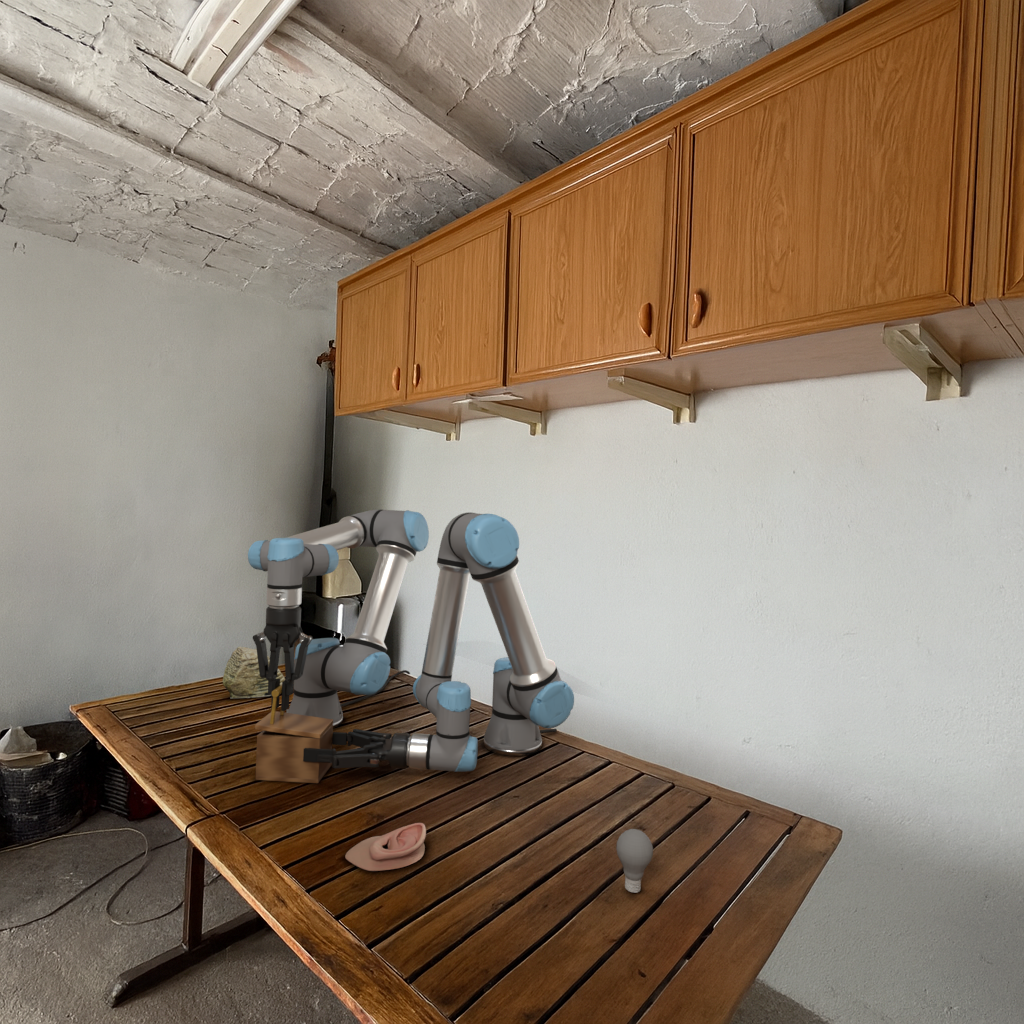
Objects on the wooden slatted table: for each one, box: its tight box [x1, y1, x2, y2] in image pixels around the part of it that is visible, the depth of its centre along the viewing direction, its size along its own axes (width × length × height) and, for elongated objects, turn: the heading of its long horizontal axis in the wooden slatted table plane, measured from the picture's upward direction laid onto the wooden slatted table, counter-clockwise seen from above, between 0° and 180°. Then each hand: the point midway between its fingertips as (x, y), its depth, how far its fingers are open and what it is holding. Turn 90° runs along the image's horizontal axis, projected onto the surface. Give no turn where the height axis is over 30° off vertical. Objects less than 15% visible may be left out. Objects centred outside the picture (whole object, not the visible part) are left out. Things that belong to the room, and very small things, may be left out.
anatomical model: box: [344, 822, 427, 872], centre depth 113 cm, size 13×4×12 cm
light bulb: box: [615, 828, 654, 894], centre depth 106 cm, size 6×6×10 cm
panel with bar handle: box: [254, 684, 333, 738], centre depth 144 cm, size 15×9×9 cm, turn 89°
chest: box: [255, 724, 334, 784], centre depth 145 cm, size 14×9×10 cm
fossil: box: [222, 646, 286, 699], centre depth 198 cm, size 9×18×15 cm, turn 132°
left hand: (280, 708), depth 145 cm, fingers closed on panel with bar handle, 2 cm apart
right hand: (311, 745), depth 145 cm, fingers closed on chest, 9 cm apart
